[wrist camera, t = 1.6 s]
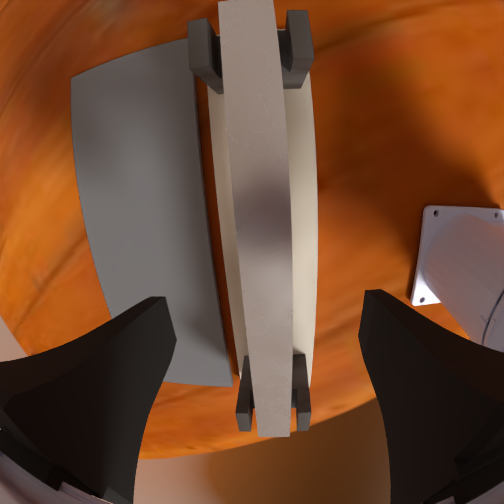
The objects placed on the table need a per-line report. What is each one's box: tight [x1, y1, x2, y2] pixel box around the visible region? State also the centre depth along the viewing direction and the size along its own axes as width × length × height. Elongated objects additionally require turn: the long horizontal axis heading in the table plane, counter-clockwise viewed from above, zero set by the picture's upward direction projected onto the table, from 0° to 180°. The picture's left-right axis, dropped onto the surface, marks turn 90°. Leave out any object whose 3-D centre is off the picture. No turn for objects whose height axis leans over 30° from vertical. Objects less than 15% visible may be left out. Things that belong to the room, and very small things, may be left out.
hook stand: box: [187, 10, 318, 432], centre depth 15 cm, size 6×27×7 cm, turn 4°
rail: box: [218, 0, 293, 437], centre depth 13 cm, size 2×25×2 cm, turn 4°
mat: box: [71, 38, 233, 387], centre depth 19 cm, size 10×28×1 cm, turn 4°
